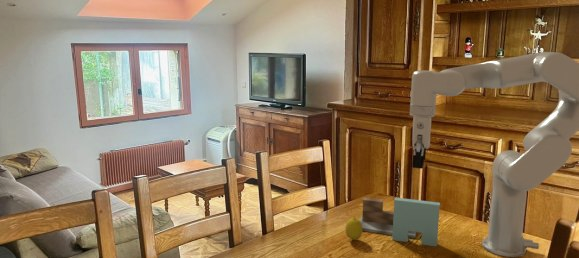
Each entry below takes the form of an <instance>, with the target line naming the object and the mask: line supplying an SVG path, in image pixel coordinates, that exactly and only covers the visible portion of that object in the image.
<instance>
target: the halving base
mask: <svg viewBox="0 0 579 258" xmlns="http://www.w3.org/2000/svg"><path fill="white" fill-rule="evenodd" d="M383 208H384V200H383V199H381V198H380V199H377V198H371V197H364V198H363V199H362V214H361V217H360V219H358V220H359V221H360V222H361V224H362V232H367V233H368V232H369V233H374V234H383V235H390V236H393V218H394V211H389V210H383ZM416 237H417V232H413V231H408V239H409V238H410V239H416Z"/></svg>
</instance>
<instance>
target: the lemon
mask: <svg viewBox="0 0 579 258" xmlns="http://www.w3.org/2000/svg"><path fill="white" fill-rule="evenodd" d="M359 220H360V219H359V218H357V217H352V218H350V219H348V220H347V222H346V224H345V234H346V236H347V237H348V238H349V239H351V240H352V241H355V240H357V239H360V238H361V237H362V234H363V231H362V224H361V222H360V221H359Z"/></svg>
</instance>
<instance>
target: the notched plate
mask: <svg viewBox="0 0 579 258" xmlns="http://www.w3.org/2000/svg"><path fill="white" fill-rule="evenodd" d="M440 207H441V203H440V202H439V201H438V202H435V201H427V200H419V199H413V198H412V199H410V198H405V197H404V198H403V197H395V198H394V202H393V212H394V218H393V235H392V241H399V242H404V243H408V241H409V238H408V231H413V232H416V233H421V241H420V242H421V243H420V245H424V246H429V247H430V246H431V247H437V246H438V233H439V224H440V223H439V222H440V221H439V219H440Z"/></svg>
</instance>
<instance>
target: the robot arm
mask: <svg viewBox="0 0 579 258" xmlns="http://www.w3.org/2000/svg"><path fill="white" fill-rule="evenodd" d="M542 82H544V83H548V84H549V85H551V86H552V87H554V88H556V89H557V91H558V102H557V106H556V107H555V109H554V110H553V111H552V112H550V114H549V115H548V116H547V117H545V118H544V119H543V120H542V121H541V122H540V123H539V124H537V125H536V126H535V127H534V128H532V129H531V130H530V131H529V132H528V133H527V134H526V135H525V136H524V138H523V141H522V146H523V148H524V150H525V151H524V153H520V152H519V151H516V150H509V149H507V150H503V151H502V152H500V153H499V154H497V155H496V156H495V158H494V159H493V163H492V192H491V203H490V212H489V213H490V214H489V224H488V234H487V237H485V238H483V239H482V240H481V245H482V247H483V248H484V249H485V250H486V251H488V252H491V253H492V254H494V255H498V256H502V257H507V258H518V257H523V256H524V255H525V254H527V248H529V249H535V250H539V248H540V247H539V246H540V245H539V244H540V243H539V242H534V240H533V239H529V238H527V239H526V238H525V237H523V232H524V231H523V230H524V223H525V214H526V213H525V212H526V206H527V196H528V195H527V192H528V191H531V190H533V189H535V188H537V187H538V186H539V185H540V184H542V183H543V182H545V180H547V179H548V178H549V177H551V176H552V175H553V174H555V172H557V171H558V170H559V169H560V168H562V167H563V166H564V165H565V164H566V163H567V162H568V160H569V159H570V157H571V155H572V153H573V152H572V151H573V147H572V142H571V141H570V139H571V138H572V137H573V136H574V135H575V134H576V133H578V132H579V62H578V61H576V60H575V59H573V58H571V57H569V56H568V55H566V54H565V53H562V52H554V51H552V52H551V51H540V52H536V53H535V52H534V53H528V54H524V55H518V56H513V57H507V58H501V59H495V60H491V61H490V60H489V61H486V62H480V63H475V64H468V65H463V66H457V67H451V68H446V69H443V70H440V71H439V72H436V71H434V70H424V69H423V70H422V69H421V70H420V69H419V70H415V71H413V73H412V75H411V87H410V89H411V90H410V104H409V116H411V117H412V118H413V120H412V139H411V140H412V142H411V143H412V147H413V154H412V168H413V169H424V163H425V161H426V155H427V150H428V149H429V148H430V146H431V134H432V131H431V130H432V118H434V117H435V116H436V106H437V95H441V96H447V97H455V96H459V95H461V94H462V93H463V92H464V91H465V90H469V89H470V90H471V89H477V88H478V89H482V88H483V89H487V88H488V89H494V90H495V89H506V88H507V89H508V88H511V87H518V86H524V85H529V84H536V83H542Z"/></svg>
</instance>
